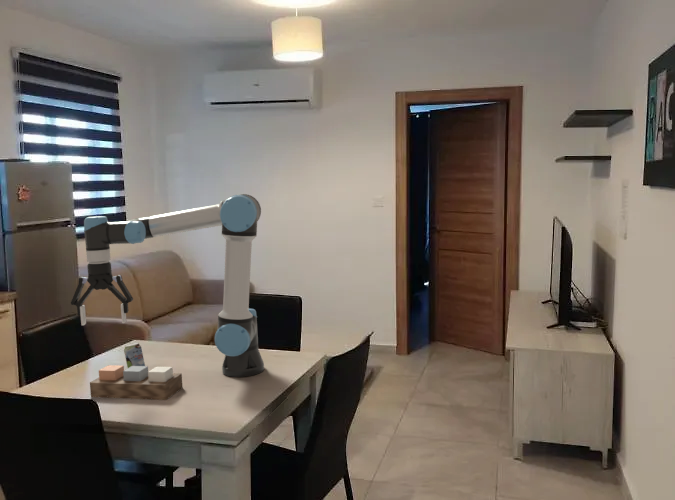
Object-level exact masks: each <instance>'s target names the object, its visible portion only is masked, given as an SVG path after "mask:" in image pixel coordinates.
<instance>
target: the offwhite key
mask: <svg viewBox="0 0 675 500" xmlns="http://www.w3.org/2000/svg"><path fill="white" fill-rule="evenodd" d="M173 373H174V371H173V366H155V367H153V368H152V369H150V370H148V378H149V382H166V381H168V380H169V379H171V378H172V377H173Z"/></svg>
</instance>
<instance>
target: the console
mask: <svg viewBox="0 0 675 500" xmlns="http://www.w3.org/2000/svg"><path fill="white" fill-rule="evenodd" d="M183 387H184V386H183V375H182V373H179V372H178V373H176V372H175V373H174V372H173V377H172V378H171V379H169V380H168V381H166V382H149V378H148V377H146V378H145V379H143V380H142V381H124V376H122V377H121V378H119V379H117V380H99V377H97V378H96V379H93V380H92V381H89V389H90V390H89V391H90V398H99V397H100V398H99V399H102V398H103V399H104V398H105V399H126V400H127V399H131V400H132V399H133V400H151V401H152V400H156V401H157V400H158V401H167V400H169V398H171V397H173V395H175V394H176V393H177V392H179V391H181V390H182V389H183Z"/></svg>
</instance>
